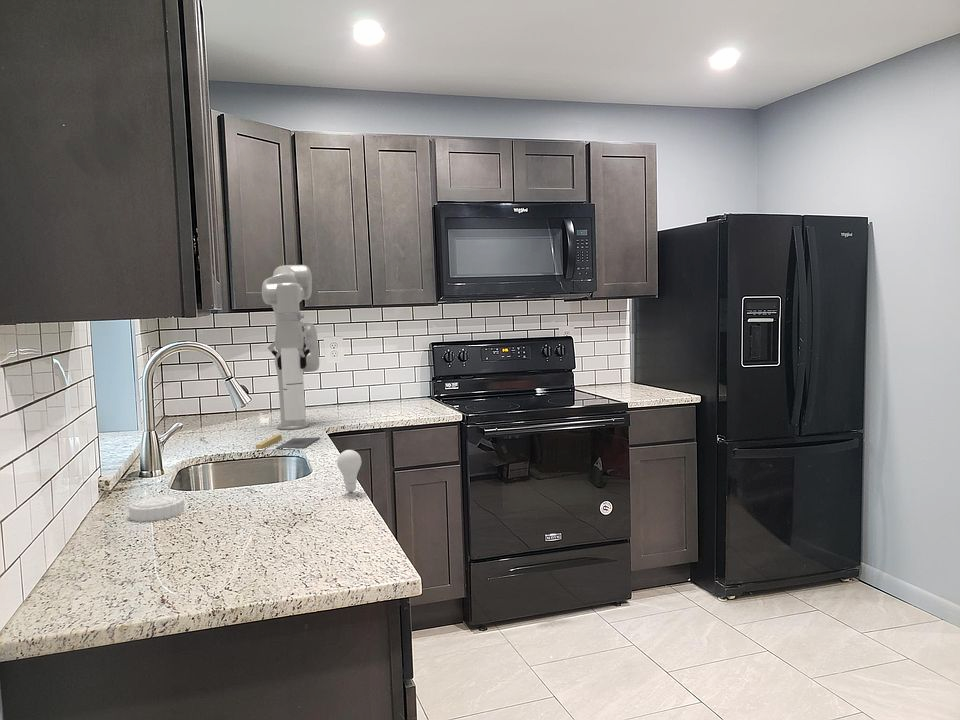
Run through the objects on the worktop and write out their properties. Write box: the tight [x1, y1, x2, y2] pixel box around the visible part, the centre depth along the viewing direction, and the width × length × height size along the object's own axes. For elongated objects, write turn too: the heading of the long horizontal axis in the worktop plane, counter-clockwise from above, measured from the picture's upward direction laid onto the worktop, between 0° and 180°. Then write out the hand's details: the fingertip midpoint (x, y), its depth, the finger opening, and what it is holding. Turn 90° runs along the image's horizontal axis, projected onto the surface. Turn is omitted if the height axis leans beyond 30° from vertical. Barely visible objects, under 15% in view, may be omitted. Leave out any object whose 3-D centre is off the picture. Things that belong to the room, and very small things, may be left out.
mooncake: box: [128, 494, 185, 522], centre depth 173 cm, size 12×12×4 cm
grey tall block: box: [281, 348, 307, 420], centre depth 256 cm, size 7×7×25 cm
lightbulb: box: [336, 449, 362, 494], centre depth 185 cm, size 6×6×11 cm
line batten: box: [255, 433, 283, 450], centre depth 258 cm, size 20×2×2 cm, turn 176°
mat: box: [275, 436, 321, 450], centre depth 257 cm, size 18×10×1 cm, turn 176°
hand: (292, 368), depth 255 cm, fingers closed on grey tall block, 7 cm apart
